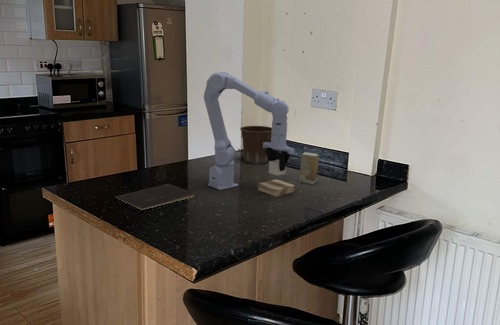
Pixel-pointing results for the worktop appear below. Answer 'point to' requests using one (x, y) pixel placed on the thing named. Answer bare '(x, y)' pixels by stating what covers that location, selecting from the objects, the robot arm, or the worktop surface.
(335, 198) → the worktop surface
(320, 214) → the worktop surface
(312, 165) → the skincare box
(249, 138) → the plant pot
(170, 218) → the worktop surface
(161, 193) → the hardcover book
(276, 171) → the cream cube
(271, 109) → the robot arm
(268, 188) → the oak plinth
